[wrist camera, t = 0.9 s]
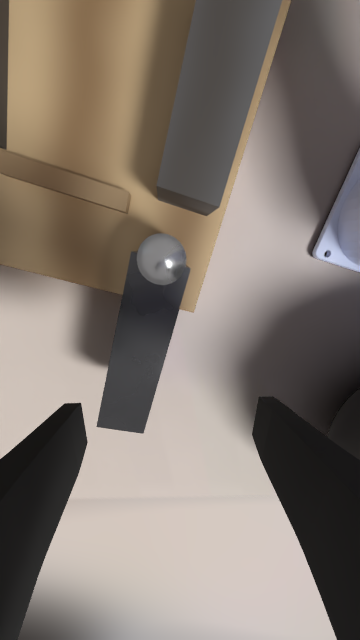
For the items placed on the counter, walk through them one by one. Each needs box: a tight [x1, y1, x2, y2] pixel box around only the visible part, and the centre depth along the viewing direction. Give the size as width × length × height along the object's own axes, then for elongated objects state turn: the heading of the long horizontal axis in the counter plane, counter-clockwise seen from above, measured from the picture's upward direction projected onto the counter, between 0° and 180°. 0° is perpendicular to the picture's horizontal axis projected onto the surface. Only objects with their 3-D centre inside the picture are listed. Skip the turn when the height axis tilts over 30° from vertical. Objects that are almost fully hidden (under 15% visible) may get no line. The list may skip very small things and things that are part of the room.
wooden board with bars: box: [0, 0, 291, 313], centre depth 10 cm, size 16×20×6 cm
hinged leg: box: [97, 233, 191, 433], centre depth 13 cm, size 12×3×3 cm, turn 164°
